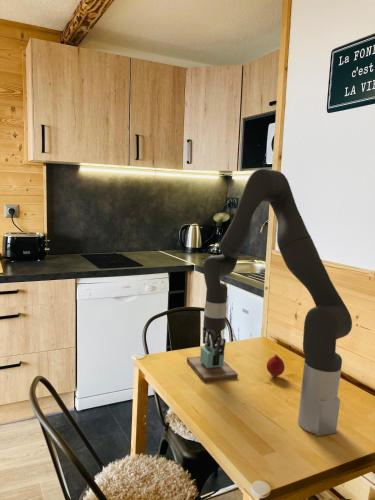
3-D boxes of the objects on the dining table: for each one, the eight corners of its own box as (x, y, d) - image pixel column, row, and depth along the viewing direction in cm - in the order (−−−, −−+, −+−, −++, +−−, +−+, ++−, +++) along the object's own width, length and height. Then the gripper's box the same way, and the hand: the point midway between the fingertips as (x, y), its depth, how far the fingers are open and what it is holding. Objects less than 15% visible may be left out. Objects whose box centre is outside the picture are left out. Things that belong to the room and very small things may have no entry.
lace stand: (237, 378, 134) (240, 345, 132) (204, 382, 129) (206, 348, 128) (217, 358, 148) (219, 328, 147) (186, 361, 144) (188, 330, 142)
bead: (223, 366, 137) (224, 352, 136) (206, 368, 135) (207, 353, 134) (215, 359, 142) (216, 345, 142) (200, 360, 140) (201, 347, 140)
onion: (282, 373, 139) (284, 351, 138) (284, 381, 133) (286, 358, 132) (265, 372, 139) (267, 350, 138) (266, 379, 134) (268, 356, 133)
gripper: (235, 320, 131) (230, 369, 133) (216, 307, 144) (213, 352, 146) (213, 321, 128) (210, 371, 130) (197, 308, 141) (193, 354, 144)
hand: (211, 361), depth 138 cm, fingers closed on bead, 5 cm apart
